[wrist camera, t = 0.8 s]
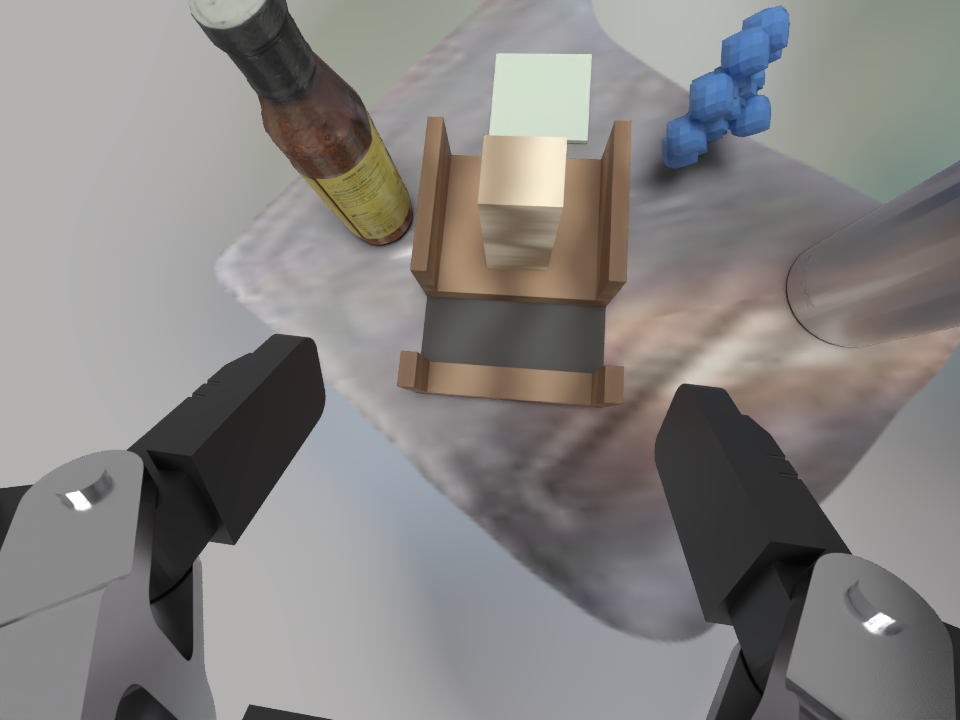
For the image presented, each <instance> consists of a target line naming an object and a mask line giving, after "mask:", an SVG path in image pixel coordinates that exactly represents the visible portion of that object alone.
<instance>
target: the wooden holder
mask: <svg viewBox="0 0 960 720" xmlns="http://www.w3.org/2000/svg"><path fill="white" fill-rule="evenodd" d="M630 151H631V121H615V122H614V125H613V128H612V131H611V133H610V136H609V139H608V142H607V145H606V148H605V151H604V153H603V156H602V159H601V160H596V159H566V166H565V184H564V201H563V210H562V214H561V218H560V222H559V226H558V230H557V234H556V238H555V242H554V246H553V250H552V254H551V258H550V262H549V266H548V270H547V271H535V270H516V269H497V268H487V264H486V257H485V250H484V243H483V236H482V229H481V222H480V216H479V209H478V196H479V185H480V174H481V163H482V156H460V155H451V151H450V146H449V142H448V137H447V133H446V128H445V123H444V119H443V117H428V120H427V129H426V138H425V146H424V155H423V164H422V172H421V181H420V190H419V198H418V207H417V216H416V225H415V233H414V242H413V251H412V259H411V268H410V270H411V272H412V274H413V275H414V277H415V278H416V280H417V281H418V283H419V284H420V286H421V287H422V289H423V291H424V292H425V294H426V295H427V304H426V314H425V323H424V332H423V342H422V351H421V354H420V353H418V352H410V351H401V355H400V364H399V372H398V381H397V386H399V387H402V388H405V389H408V390H411V391H414V392H417V393H426V394H438V395H451V396H463V397H476V398H488V399H500V400H513V401H525V402H538V403H550V404H563V405H575V406H588V407H600V408H601V407H607V406H613V405H619V404H623V377H624V367H620V366H604V367H603V359H604V333H605V307H606V306H607V305H608V303H609V302H610V301H611V300H612V299H613V297H614V296H615V295H616V294H617V293H618V291H619V290H620V289H621V288H622V287H623V285H624V284H625V283H626V280H627V248H628V215H629V183H630Z"/></svg>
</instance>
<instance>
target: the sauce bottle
mask: <svg viewBox="0 0 960 720" xmlns="http://www.w3.org/2000/svg"><path fill="white" fill-rule="evenodd" d="M189 7H190V10H191V14H192V16H193V17H194V19H195V20H196V22H197V23H198V24H199V25H200V27H201V28H202V30H203V31H204V32H205V33H206V35H207V36H208V37H209V39H210V40H211V41H212V42H213V43H214V45H215V46H217V47H218V48H220V49H221V50H223V51H224V52H226V53H227V54H228V55H229V57H230V58H231V59H232V60H233V62H234V63H235V64H236V65H237V67H238V68H239V69H240V70H241V71H242V73H243V74H244V75H245V77H246V78H247V81H248V82H249V84H250V85H251V87H252V88H253V89H254V90H255V91H256V93H257V94H258V98H259V101H260V104H261V109H262V111H261V114H262V119H263V124H264V128H265V130H266V132H267V133H268V134H269V136H270V137H271V139H272V140H273V142H274V143H275V144H276V145H277V146H278V147H279V149H280V150H281V151H282V152H283V153H284V154H285V155H286V157H287V158H288V159H289V160H290V162H291V164H292V165H293V167H294V168H295V169H296V170H297V171H298V173H299V174H300V175H301V176H302V177H303V178H304V179H305V180H306V182H307V183H308V184H309V185H310V186H311V187H312V188H313V189H314V190H315V192H316V193H317V194H318V195H319V196H320V197H321V198H322V199H323V201H324V202H325V203H326V204H327V205H328V206H329V207H330V208H331V209H332V211H333V212H334V213H335V214H336V215H337V216H338V217H339V218H340V219H341V221H342V222H343V223H344V224H345V225H346V226H347V227H348V229H349V230H350V231H351V232H353V233H354V234H355V235H357V236H358V237H359V238H361V239H362V240H364V241H366V242H368V243H370V244H375V245H382V244H386V243H390V242H393V241H395V240H397V239H398V238H400V237H401V236H402V235H403V234H404V233H405V231H406V230H407V229H408V228H409V225H410V223H411V220H412V207H411V203H410V199H409V195H408V191H407V189H406V187H405V185H404V183H403V181H402V179H401V177H400V175H399V173H398V171H397V169H396V167H395V165H394V163H393V161H392V159H391V157H390V155H389V153H388V151H387V149H386V148H385V146H384V143H383V141H382V139H381V138H380V135H379V133H378V132H377V130H376V128H375V126H374V124H373V121H372V119H371V117H370V116H369V113H368V111H367V110H366V108H365V106H364V104H363V102H362V100H361V98H360V97H359V95H358V94H357V93H356V92H355V90H353V88H352V87H351V86H350V85H348V84H347V83H346V82H345V81H344V80H343V79H342V78H341V77H340V76H339V75H338V74H336V72H335V71H333V70H332V69H331V68H330V67H329V66H328V65H327V64H326V63H325V62H324V61H323V60H322V59H321V58H319V57H318V56H317V55H316V54H315V53H314V52H313V51H312V49H311V48H310V46H309V44H308V43H307V42H306V41H305V40H304V38H303V36H302V35H301V32H300V31H299V29H298V27H297V26H296V23H295V22H294V19H293V18H292V17H291V15H290V14H289V12H288V7H287V3H286V0H189Z"/></svg>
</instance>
